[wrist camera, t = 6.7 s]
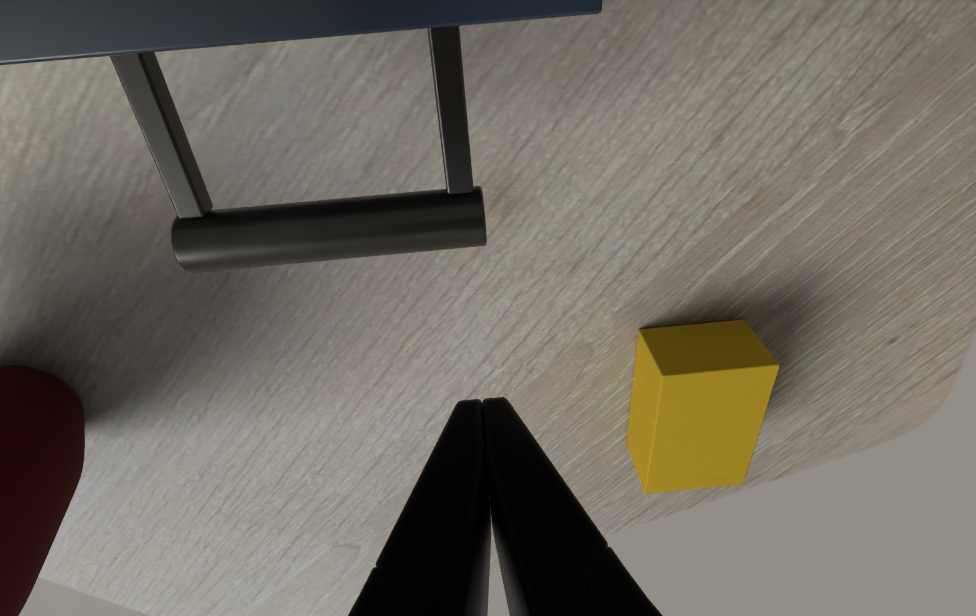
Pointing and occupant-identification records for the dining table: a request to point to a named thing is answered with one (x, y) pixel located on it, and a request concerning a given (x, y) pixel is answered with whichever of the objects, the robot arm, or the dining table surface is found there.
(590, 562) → the robot arm
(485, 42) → the dining table surface
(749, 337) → the block
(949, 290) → the dining table surface
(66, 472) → the mug
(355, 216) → the drawer
